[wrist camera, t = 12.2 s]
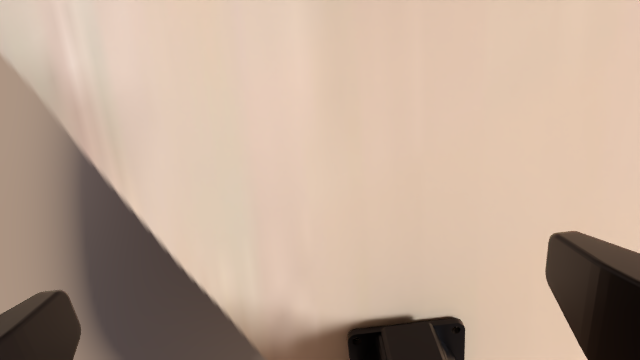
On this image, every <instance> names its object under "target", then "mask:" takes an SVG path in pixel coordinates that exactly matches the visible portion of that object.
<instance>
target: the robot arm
mask: <svg viewBox="0 0 640 360" xmlns="http://www.w3.org/2000/svg"><path fill="white" fill-rule="evenodd" d="M546 279H547V282H548V285H549V287H550V289H551V291H552V293H553V295H554V296H555V298H556V300H557V302H558V304H559V306H560V308H561V310H562V312H563V314H564V316H565V318H566V320H567V322H568V324H569V326H570V328H571V329H572V331H573V333H574V335H575V337H576V339H577V341H578V343H579V345H580V347H581V349H582V350H583V352H584V354H585V356H586V357H587V359H588V360H640V253H637V252H634V251H631V250H628V249H625V248H623V247H620V246H617V245H614V244H611V243H608V242H606V241H603V240H600V239H597V238H594V237H591V236H588V235H586V234H583V233H580V232H577V231H568V232H559V233H554V234H553V235H551V236H550V239H549V242H548V252H547V261H546ZM453 327H457V328H455V329H452V328H453ZM80 335H81V327H80V323H79V320H78V317H77V315H76V313H75V310H74V308H73V305H72V303H71V300H70V298H69V296H68V294H67V293H66V292H65V291H62V290H55V291H45V292H40V293H38V294H36V295H34V296H32V297H30V298H29V299H27V300H25V301H23V302H22V303H20V304H18V305H16V306H15V307H13V308H11V309H9V310H8V311H6V312H4V313H3V314H1V315H0V360H73V357H74V355H75V352H76V349H77V346H78V342H79V340H80ZM354 338H359V339H357V340H354ZM347 340H348V349H349V358H350V360H464V349H465V327H464V325H463V323H462V321H461V320H460V319H457V318H451V319H443V320H434V321H425V322H416V323H407V324H398V325H389V326H380V327H371V328H363V329H355V330H352V331H350V332H349V333H348V335H347Z"/></svg>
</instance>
